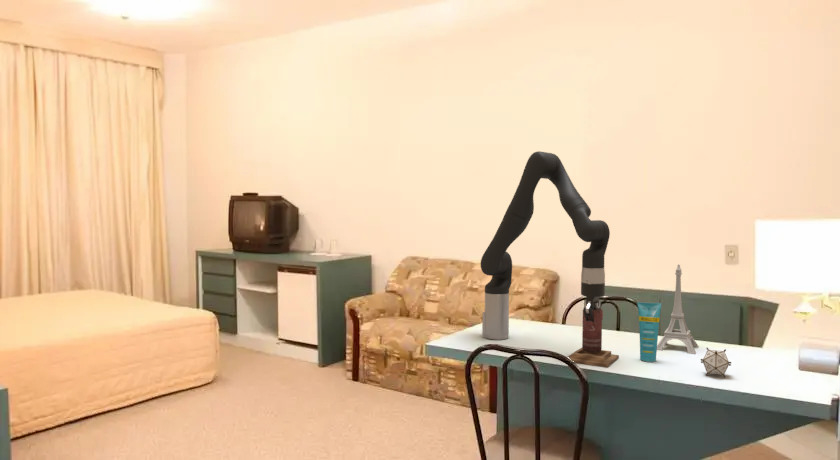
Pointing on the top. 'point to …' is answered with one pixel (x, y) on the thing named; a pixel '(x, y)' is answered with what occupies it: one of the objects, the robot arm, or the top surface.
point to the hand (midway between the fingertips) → (592, 333)
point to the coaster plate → (594, 358)
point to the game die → (715, 362)
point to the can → (592, 332)
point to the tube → (648, 329)
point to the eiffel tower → (678, 315)
